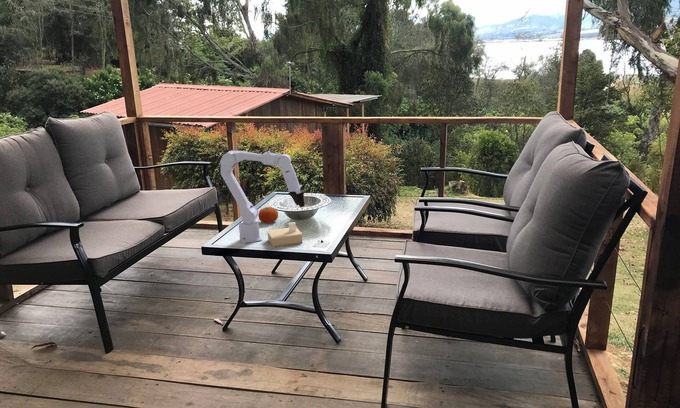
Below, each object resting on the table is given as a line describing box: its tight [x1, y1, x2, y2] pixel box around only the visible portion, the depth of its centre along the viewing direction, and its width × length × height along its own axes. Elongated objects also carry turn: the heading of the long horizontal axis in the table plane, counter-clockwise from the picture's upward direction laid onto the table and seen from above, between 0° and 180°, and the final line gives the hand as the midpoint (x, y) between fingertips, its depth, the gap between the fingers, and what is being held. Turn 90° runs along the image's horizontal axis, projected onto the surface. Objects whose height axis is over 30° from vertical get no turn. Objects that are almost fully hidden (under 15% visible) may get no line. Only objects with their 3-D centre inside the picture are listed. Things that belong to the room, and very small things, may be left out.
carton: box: [267, 233, 303, 248], centre depth 242 cm, size 14×12×4 cm
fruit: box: [257, 206, 279, 224], centre depth 274 cm, size 11×10×8 cm
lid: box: [266, 221, 303, 239], centre depth 241 cm, size 14×12×5 cm
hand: (300, 205), depth 242 cm, fingers open, 7 cm apart
